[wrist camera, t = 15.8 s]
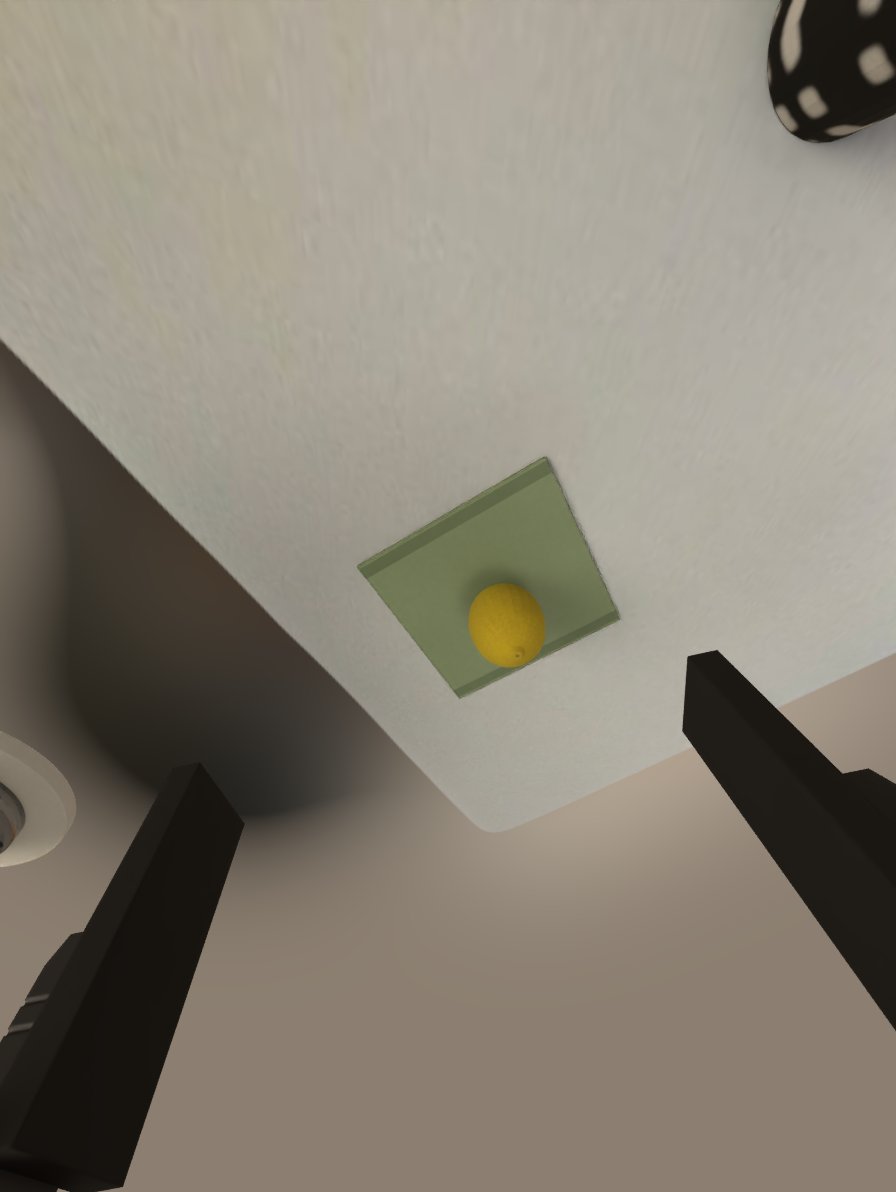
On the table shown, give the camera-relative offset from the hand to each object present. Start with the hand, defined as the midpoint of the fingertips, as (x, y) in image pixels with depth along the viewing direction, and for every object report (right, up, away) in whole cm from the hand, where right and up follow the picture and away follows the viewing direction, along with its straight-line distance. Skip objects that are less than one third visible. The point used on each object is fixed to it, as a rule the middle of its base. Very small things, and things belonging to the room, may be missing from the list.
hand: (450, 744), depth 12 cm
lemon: (+4, +4, +25) cm, 25 cm away
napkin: (+4, +4, +25) cm, 25 cm away
